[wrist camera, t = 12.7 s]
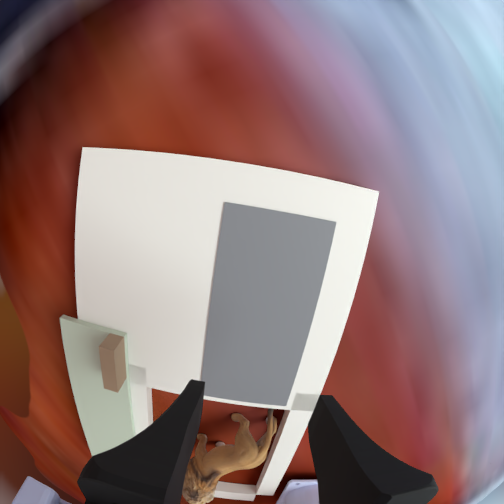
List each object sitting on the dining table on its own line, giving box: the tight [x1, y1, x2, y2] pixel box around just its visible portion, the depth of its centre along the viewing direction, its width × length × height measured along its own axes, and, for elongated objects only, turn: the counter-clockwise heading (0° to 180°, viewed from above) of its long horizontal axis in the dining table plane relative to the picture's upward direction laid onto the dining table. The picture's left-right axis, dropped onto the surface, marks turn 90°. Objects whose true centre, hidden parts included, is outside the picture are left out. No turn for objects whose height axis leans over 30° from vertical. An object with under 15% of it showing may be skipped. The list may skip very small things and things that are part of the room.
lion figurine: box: [182, 408, 277, 504], centre depth 21 cm, size 12×4×7 cm, turn 140°
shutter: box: [60, 315, 136, 456], centre depth 21 cm, size 6×20×3 cm, turn 170°
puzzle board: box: [75, 147, 379, 501], centre depth 22 cm, size 20×36×2 cm, turn 170°
